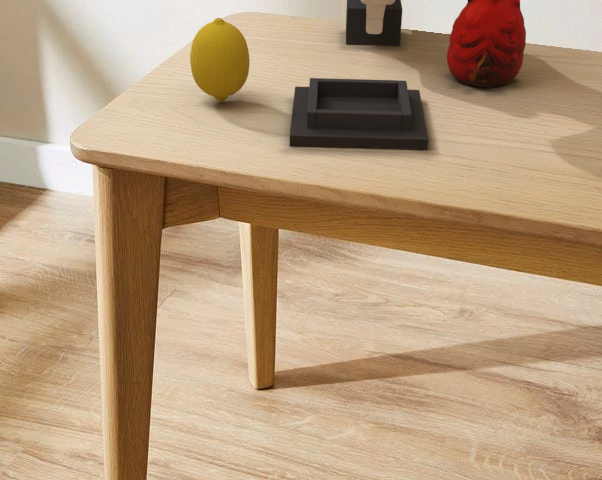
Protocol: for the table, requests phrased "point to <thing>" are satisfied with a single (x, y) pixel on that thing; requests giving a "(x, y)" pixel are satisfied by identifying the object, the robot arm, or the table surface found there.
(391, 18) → the plug pad
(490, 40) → the red clay folk toy
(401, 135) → the socket pad
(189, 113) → the table surface
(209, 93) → the lemon
